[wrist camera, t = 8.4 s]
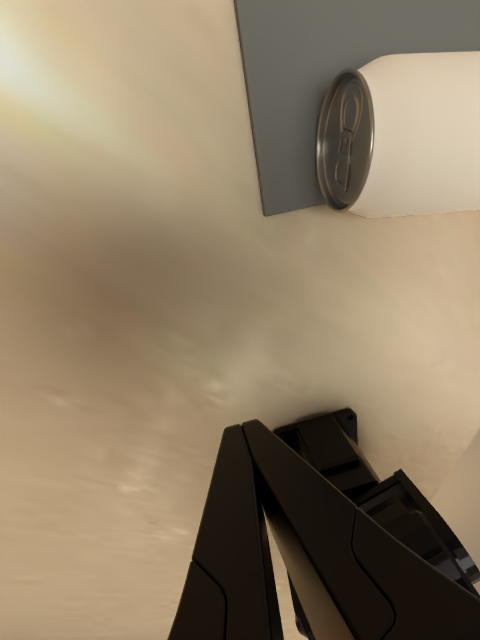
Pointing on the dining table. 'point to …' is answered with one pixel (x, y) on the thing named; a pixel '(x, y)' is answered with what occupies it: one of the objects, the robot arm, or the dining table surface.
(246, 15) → the mat
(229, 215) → the dining table surface
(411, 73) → the can
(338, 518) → the robot arm
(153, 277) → the dining table surface
